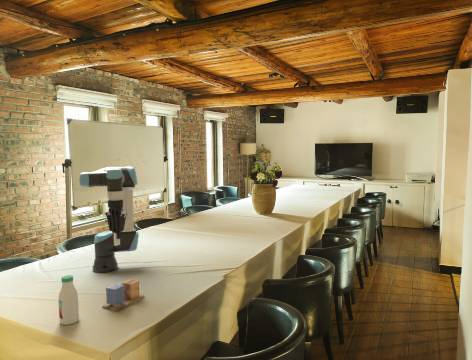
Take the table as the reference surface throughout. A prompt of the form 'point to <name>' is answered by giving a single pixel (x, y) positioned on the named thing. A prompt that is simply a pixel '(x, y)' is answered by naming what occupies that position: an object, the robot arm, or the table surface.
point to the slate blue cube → (115, 294)
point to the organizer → (127, 295)
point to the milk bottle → (68, 302)
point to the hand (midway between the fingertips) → (117, 244)
